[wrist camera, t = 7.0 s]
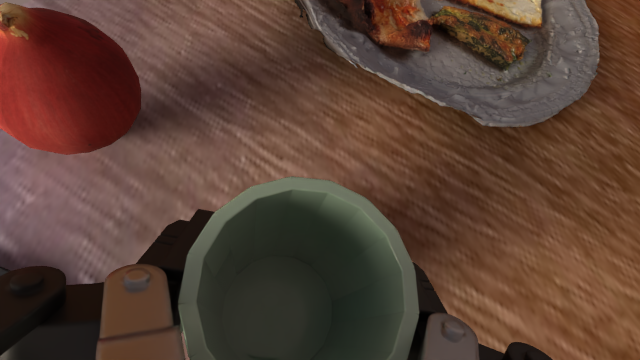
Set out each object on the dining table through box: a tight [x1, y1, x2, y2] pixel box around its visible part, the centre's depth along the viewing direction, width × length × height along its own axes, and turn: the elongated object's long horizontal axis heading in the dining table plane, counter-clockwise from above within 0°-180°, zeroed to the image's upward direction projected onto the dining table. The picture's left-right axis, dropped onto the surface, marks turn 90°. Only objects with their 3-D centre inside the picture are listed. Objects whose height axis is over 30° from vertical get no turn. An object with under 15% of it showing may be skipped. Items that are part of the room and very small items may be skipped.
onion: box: [0, 2, 141, 155], centre depth 15 cm, size 6×6×8 cm
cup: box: [178, 176, 419, 360], centre depth 12 cm, size 6×6×9 cm
